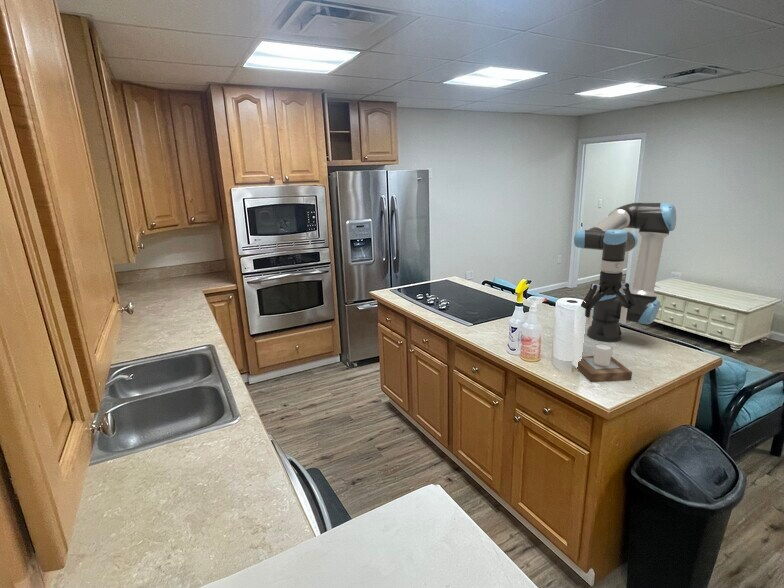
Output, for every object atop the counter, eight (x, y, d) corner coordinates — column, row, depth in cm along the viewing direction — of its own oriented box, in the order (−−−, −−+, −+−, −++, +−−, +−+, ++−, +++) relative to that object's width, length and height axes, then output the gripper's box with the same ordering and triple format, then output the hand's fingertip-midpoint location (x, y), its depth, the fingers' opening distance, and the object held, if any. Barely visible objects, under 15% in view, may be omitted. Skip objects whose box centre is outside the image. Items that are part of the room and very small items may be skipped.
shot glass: (594, 357, 174) (596, 342, 172) (612, 362, 169) (614, 345, 168) (589, 363, 169) (591, 347, 167) (608, 368, 164) (610, 351, 162)
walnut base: (608, 362, 178) (609, 353, 177) (631, 380, 163) (632, 370, 162) (571, 364, 177) (572, 355, 176) (590, 382, 162) (591, 372, 161)
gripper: (584, 274, 155) (579, 328, 160) (650, 271, 156) (642, 325, 161) (574, 270, 162) (570, 322, 168) (637, 267, 163) (630, 319, 169)
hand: (605, 324), depth 165 cm, fingers open, 13 cm apart
